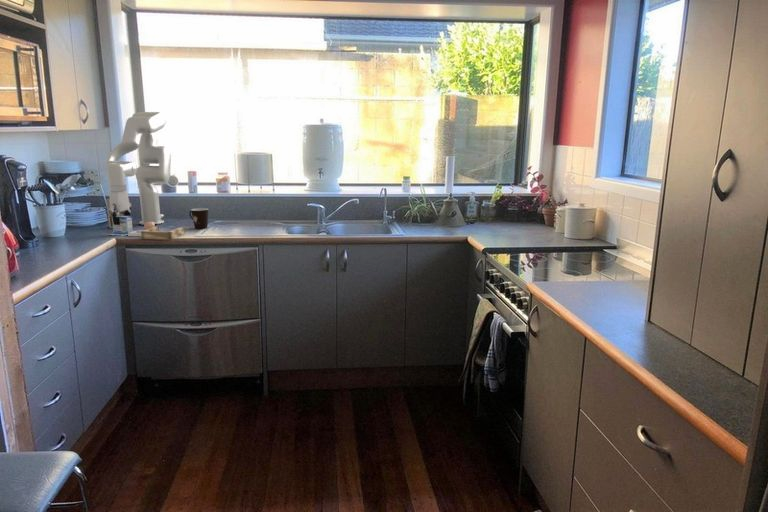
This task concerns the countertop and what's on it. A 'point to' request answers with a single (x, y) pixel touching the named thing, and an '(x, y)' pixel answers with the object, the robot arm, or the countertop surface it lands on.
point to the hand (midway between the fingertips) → (122, 222)
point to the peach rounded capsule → (149, 225)
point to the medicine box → (123, 225)
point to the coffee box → (109, 212)
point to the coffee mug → (200, 217)
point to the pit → (135, 233)
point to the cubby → (161, 233)
